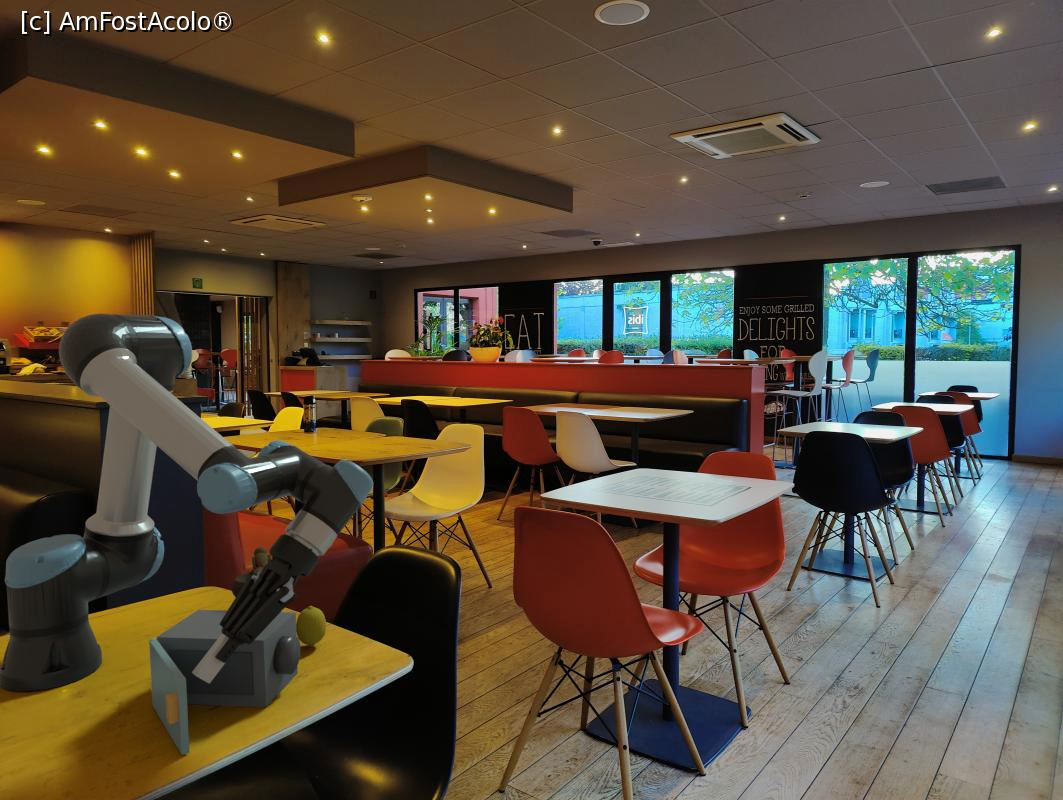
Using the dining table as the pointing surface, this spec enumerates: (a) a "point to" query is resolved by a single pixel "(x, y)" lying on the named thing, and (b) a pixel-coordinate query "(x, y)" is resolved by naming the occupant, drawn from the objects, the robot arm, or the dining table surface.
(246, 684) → the case
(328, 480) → the robot arm
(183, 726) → the side door
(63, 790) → the dining table surface
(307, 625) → the lemon
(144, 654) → the dining table surface
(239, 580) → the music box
